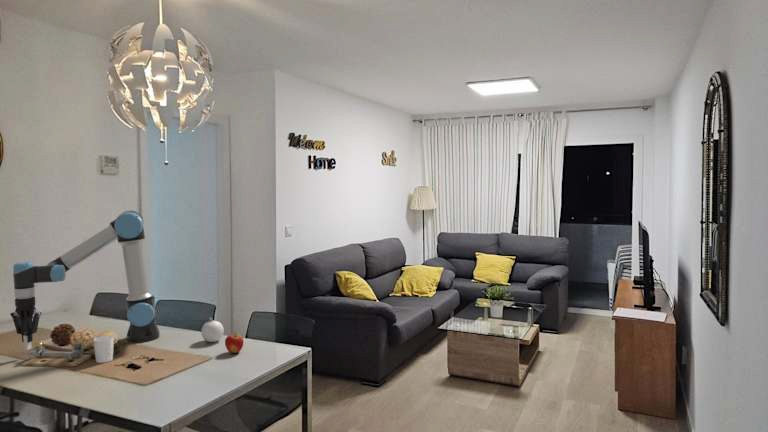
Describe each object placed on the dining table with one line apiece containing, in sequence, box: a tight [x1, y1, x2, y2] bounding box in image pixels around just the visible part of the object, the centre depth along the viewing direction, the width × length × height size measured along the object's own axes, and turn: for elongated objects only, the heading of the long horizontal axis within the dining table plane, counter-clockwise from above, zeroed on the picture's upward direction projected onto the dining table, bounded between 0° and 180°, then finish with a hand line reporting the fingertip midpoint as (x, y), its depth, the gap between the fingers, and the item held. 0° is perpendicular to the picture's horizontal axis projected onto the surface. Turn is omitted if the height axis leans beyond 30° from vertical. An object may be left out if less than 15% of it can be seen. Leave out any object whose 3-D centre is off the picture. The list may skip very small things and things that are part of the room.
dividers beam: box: [40, 342, 85, 361], centre depth 238 cm, size 20×8×6 cm, turn 87°
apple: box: [224, 331, 244, 354], centre depth 248 cm, size 8×8×10 cm
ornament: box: [201, 317, 225, 343], centre depth 265 cm, size 10×10×12 cm
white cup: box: [93, 335, 115, 364], centre depth 238 cm, size 8×8×10 cm
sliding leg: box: [26, 341, 46, 360], centre depth 238 cm, size 3×8×6 cm, turn 177°
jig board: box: [22, 354, 91, 367], centre depth 237 cm, size 23×12×1 cm, turn 87°
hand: (27, 349), depth 241 cm, fingers closed
